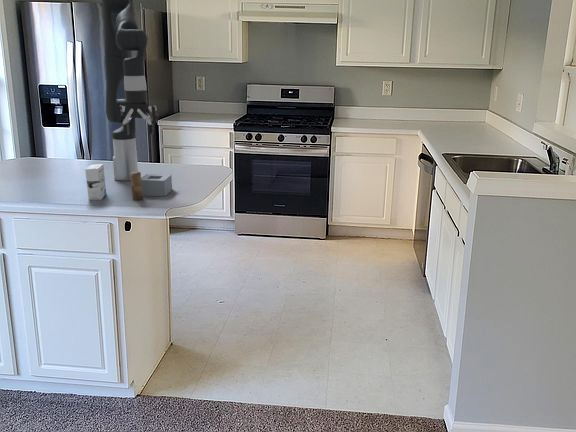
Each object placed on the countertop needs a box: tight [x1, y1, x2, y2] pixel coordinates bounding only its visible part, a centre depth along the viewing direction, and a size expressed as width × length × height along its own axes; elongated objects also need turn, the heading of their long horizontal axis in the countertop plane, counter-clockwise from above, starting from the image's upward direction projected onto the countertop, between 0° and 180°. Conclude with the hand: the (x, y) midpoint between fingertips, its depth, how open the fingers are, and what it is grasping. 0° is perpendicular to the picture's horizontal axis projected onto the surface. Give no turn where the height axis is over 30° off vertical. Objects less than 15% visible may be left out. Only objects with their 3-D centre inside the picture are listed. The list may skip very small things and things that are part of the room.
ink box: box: [85, 163, 107, 201], centre depth 210 cm, size 8×5×12 cm, turn 5°
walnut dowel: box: [130, 171, 143, 201], centre depth 207 cm, size 4×4×10 cm
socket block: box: [141, 173, 173, 197], centre depth 217 cm, size 10×10×6 cm
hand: (139, 134), depth 203 cm, fingers open, 8 cm apart
